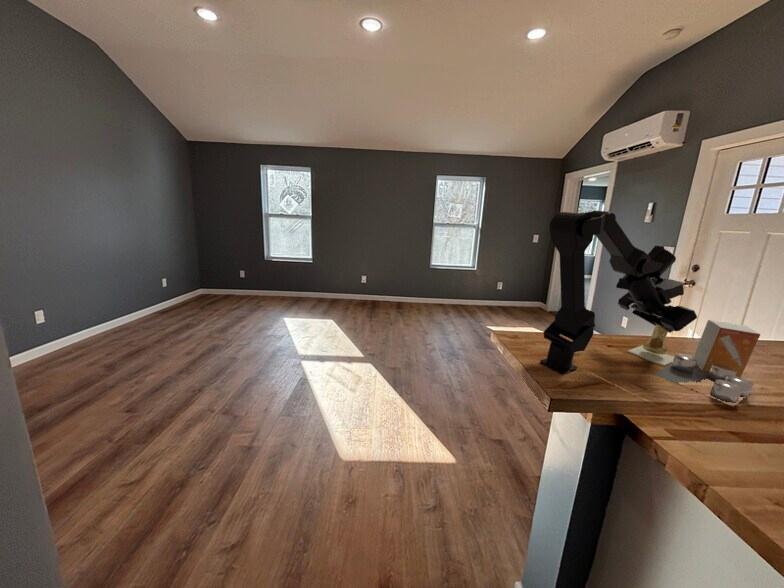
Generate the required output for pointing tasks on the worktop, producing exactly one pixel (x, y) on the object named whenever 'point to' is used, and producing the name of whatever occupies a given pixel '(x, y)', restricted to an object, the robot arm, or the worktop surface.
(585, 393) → the worktop surface
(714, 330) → the small box
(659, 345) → the brass pin
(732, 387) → the spacers
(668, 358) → the coaster
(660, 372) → the mat
